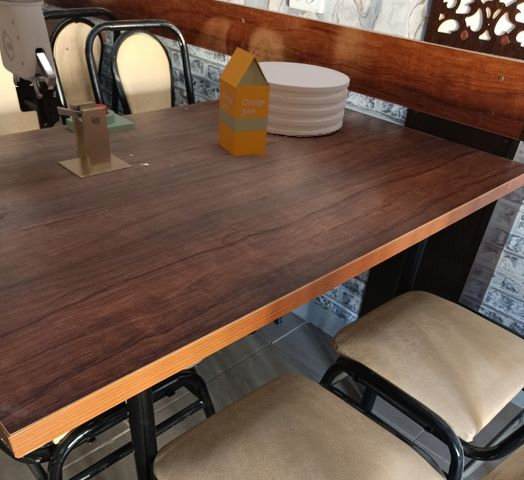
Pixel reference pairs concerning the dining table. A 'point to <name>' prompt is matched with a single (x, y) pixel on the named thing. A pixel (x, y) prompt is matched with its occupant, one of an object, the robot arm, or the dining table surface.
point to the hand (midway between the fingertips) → (39, 115)
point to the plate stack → (304, 98)
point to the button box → (110, 123)
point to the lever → (63, 111)
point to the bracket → (92, 143)
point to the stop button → (102, 106)
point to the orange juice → (243, 106)
